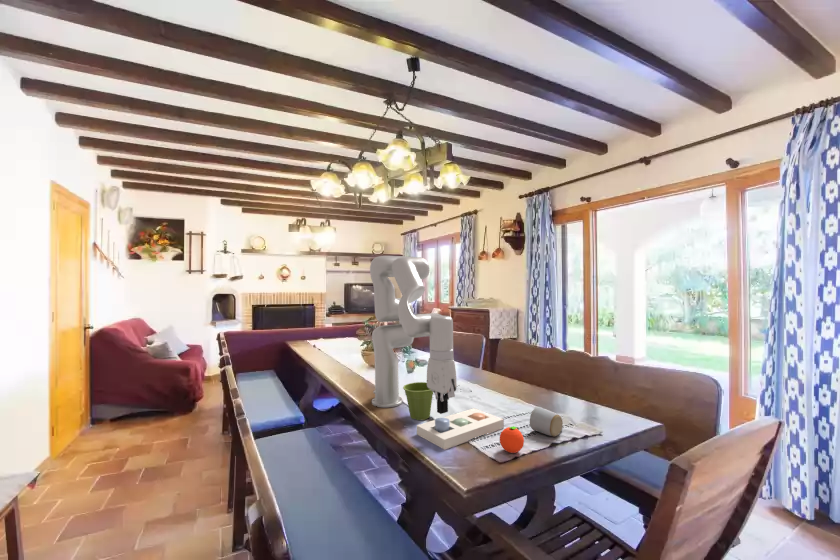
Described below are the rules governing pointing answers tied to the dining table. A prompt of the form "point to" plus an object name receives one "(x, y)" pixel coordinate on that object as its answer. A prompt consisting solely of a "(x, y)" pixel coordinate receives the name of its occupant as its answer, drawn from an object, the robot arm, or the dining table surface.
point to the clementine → (511, 439)
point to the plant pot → (418, 400)
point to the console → (460, 429)
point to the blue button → (442, 425)
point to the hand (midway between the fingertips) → (442, 412)
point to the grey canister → (546, 421)
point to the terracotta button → (478, 416)
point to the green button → (461, 422)
